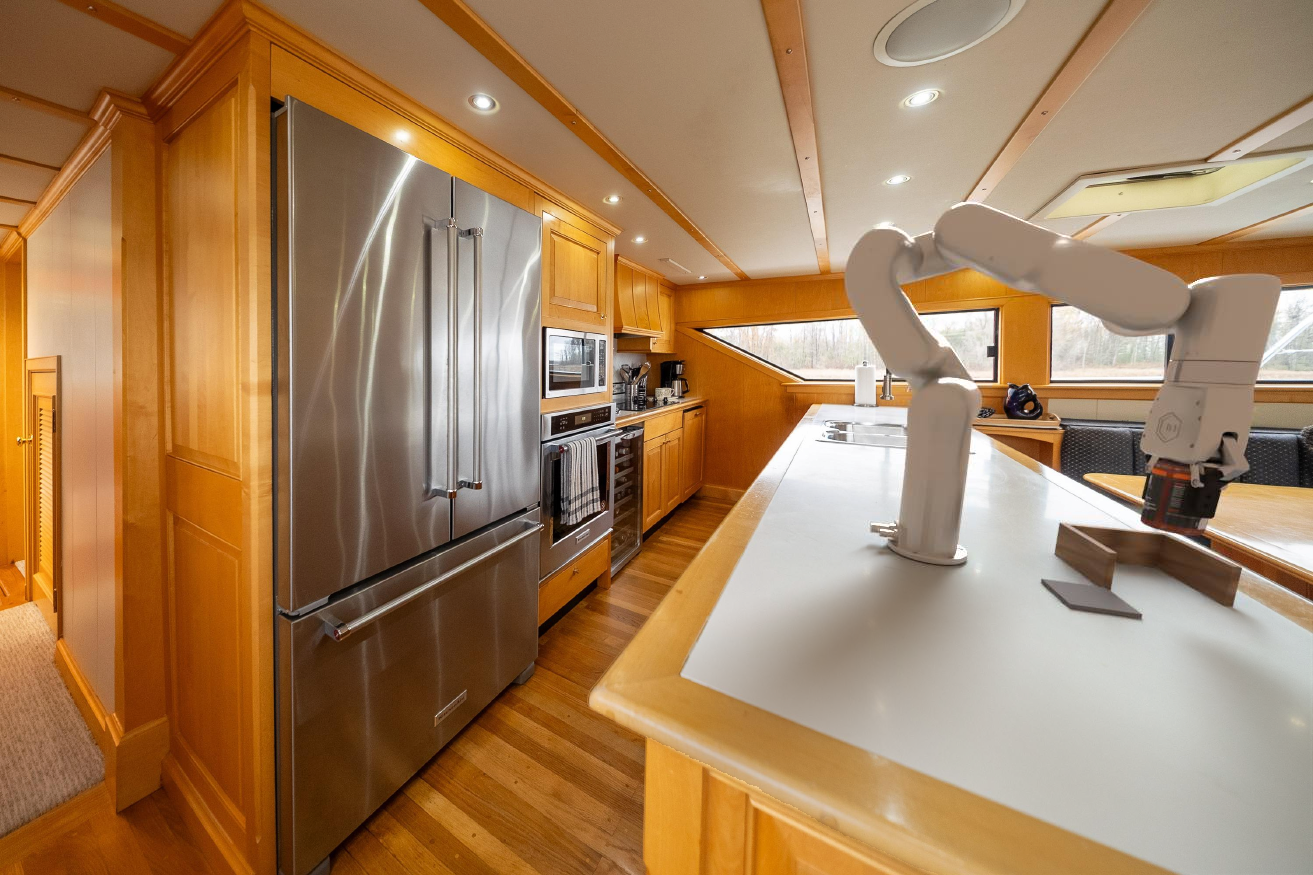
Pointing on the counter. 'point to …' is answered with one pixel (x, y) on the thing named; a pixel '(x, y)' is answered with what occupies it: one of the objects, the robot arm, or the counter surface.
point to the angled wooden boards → (1145, 558)
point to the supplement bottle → (1170, 499)
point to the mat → (1090, 598)
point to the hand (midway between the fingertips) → (1175, 507)
